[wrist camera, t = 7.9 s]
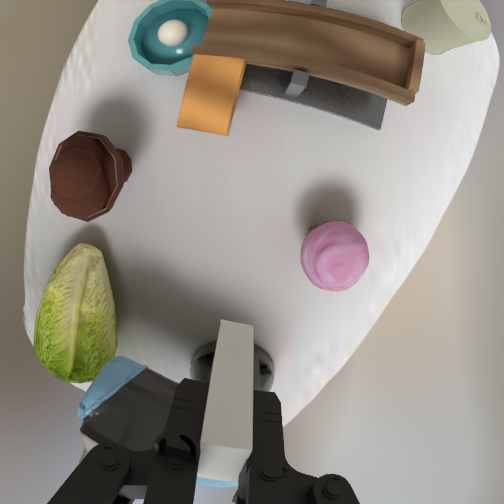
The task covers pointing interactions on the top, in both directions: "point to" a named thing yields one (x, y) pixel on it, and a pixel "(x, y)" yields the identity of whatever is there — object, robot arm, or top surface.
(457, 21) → the can
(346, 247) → the cupcake
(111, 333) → the lettuce
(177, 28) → the ball
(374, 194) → the top surface
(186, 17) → the teal bowl
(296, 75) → the chute stand
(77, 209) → the ice cream bowl
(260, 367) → the robot arm
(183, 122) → the chute
